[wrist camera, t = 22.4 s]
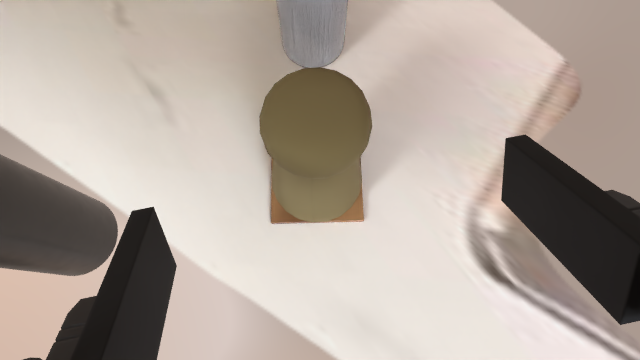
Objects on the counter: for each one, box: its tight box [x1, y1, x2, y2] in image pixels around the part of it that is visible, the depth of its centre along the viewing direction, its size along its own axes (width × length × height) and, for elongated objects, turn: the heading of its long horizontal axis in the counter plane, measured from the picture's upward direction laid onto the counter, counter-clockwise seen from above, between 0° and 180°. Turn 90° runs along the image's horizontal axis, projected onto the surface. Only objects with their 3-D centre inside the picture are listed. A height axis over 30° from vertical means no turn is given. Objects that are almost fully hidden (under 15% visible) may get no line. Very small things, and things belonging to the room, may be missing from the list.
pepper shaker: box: [260, 67, 372, 223], centre depth 24 cm, size 6×6×11 cm
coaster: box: [271, 157, 364, 224], centre depth 30 cm, size 6×6×1 cm
